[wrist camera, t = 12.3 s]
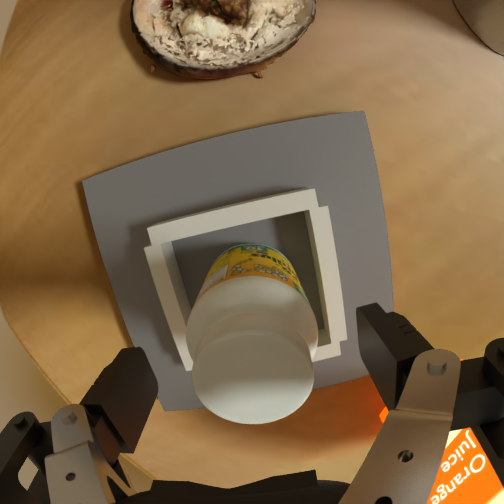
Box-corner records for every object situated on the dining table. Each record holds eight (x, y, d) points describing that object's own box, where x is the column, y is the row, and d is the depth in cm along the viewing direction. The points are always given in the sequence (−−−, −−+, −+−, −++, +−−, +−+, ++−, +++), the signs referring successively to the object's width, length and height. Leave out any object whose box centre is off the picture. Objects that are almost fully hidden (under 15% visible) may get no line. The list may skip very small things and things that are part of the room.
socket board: (93, 180, 18) (65, 181, 15) (356, 115, 17) (376, 103, 14) (169, 399, 22) (159, 427, 19) (387, 356, 21) (404, 381, 18)
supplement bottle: (190, 287, 18) (138, 381, 9) (248, 221, 18) (242, 270, 8) (256, 339, 19) (257, 454, 10) (315, 281, 18) (366, 372, 9)
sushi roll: (115, -19, 15) (95, -43, 11) (292, -61, 14) (297, -91, 10) (138, 128, 18) (112, 118, 14) (355, 77, 17) (377, 56, 13)
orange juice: (437, 422, 24) (516, 557, 4) (377, 416, 23) (452, 598, 3) (479, 362, 22) (592, 487, 2) (424, 346, 21) (562, 525, 2)
